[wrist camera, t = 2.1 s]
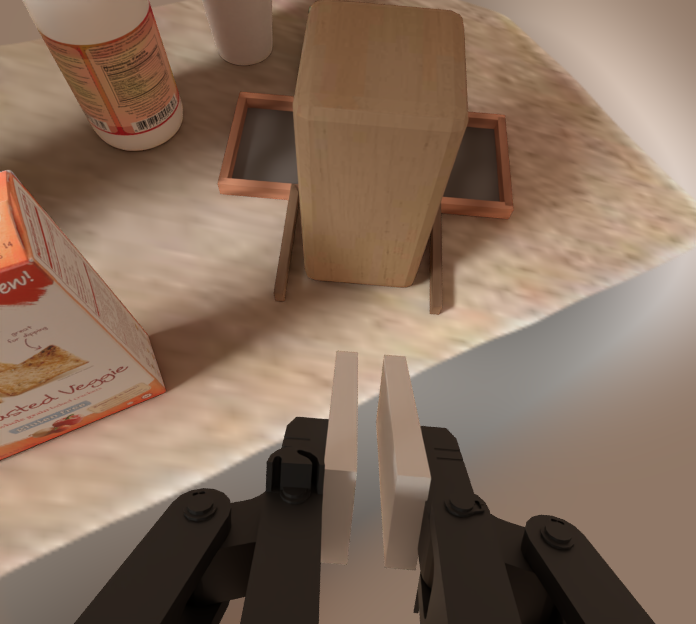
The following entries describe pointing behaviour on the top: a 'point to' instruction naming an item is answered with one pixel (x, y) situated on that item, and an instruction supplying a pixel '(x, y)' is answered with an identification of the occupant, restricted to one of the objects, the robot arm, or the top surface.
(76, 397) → the cracker box
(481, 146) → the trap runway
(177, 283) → the top surface
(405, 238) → the wooden block
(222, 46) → the coffee cup
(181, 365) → the top surface
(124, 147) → the fruit juice
